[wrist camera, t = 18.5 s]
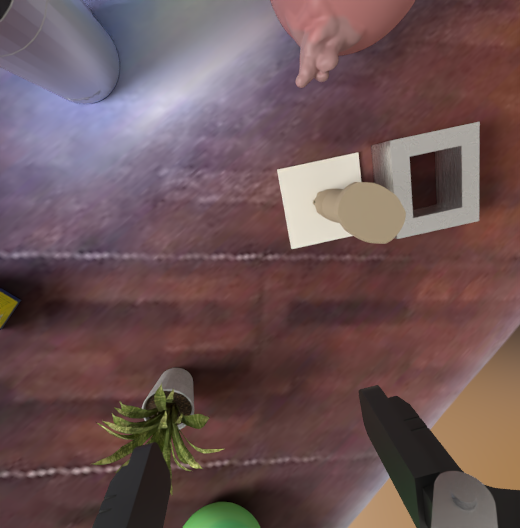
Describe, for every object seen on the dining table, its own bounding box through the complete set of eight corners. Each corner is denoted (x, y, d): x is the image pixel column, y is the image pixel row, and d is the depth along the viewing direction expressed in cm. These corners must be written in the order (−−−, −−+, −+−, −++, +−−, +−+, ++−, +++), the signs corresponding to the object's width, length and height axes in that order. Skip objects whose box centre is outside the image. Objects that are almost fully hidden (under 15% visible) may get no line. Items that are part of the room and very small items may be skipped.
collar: (371, 145, 40) (389, 140, 35) (450, 128, 40) (479, 121, 35) (379, 232, 43) (397, 238, 38) (452, 216, 43) (479, 220, 39)
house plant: (208, 324, 45) (194, 400, 29) (240, 395, 49) (242, 497, 33) (120, 355, 45) (58, 448, 29) (158, 424, 49) (122, 539, 33)
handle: (313, 174, 40) (358, 170, 25) (352, 198, 41) (415, 207, 27) (294, 206, 41) (328, 220, 26) (333, 228, 42) (385, 253, 28)
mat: (277, 169, 40) (277, 169, 39) (357, 152, 40) (358, 152, 40) (291, 248, 43) (291, 249, 42) (365, 232, 43) (366, 232, 43)
